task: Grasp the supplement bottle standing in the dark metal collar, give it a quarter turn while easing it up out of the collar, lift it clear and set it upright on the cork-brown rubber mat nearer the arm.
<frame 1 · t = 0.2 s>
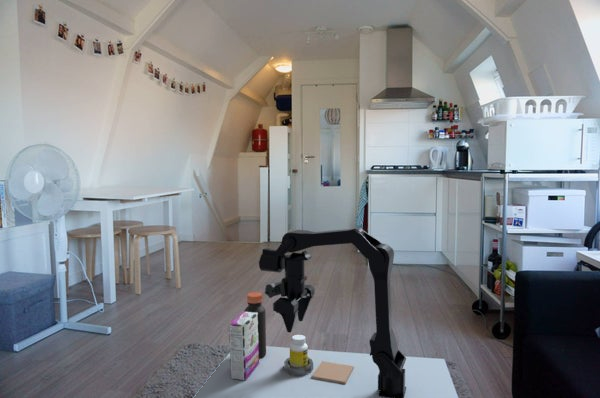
hand: (295, 326, 123), 14 cm above the table, fingers open, 9 cm apart
mat: (333, 372, 124), on the table
vinegar: (255, 355, 136), on the table
collar: (298, 368, 126), on the table
supplement bottle: (298, 369, 126), resting in collar
candy bar box: (245, 372, 125), on the table
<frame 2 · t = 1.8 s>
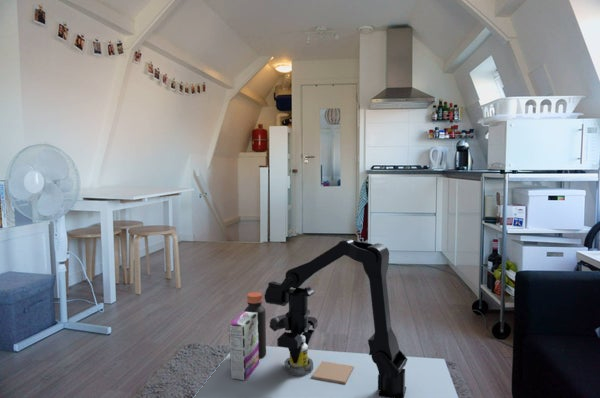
hand: (298, 358, 126), 3 cm above the table, fingers closed on supplement bottle, 5 cm apart
supplement bottle: (298, 369, 126), resting in collar, touching gripper
everything else where it was.
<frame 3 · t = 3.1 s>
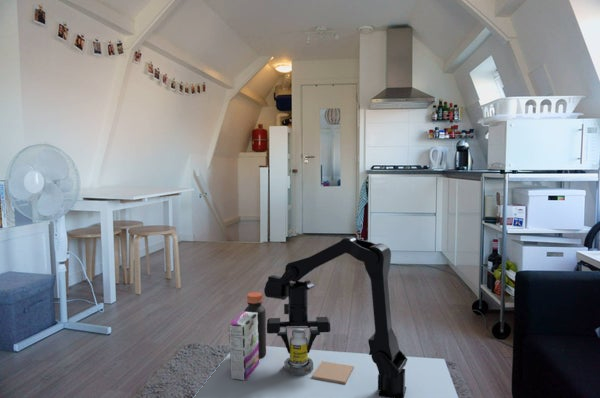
hand: (298, 352, 126), 5 cm above the table, fingers closed on supplement bottle, 5 cm apart
supplement bottle: (298, 363, 126), point 2 cm above the table, touching gripper
everything else where it was.
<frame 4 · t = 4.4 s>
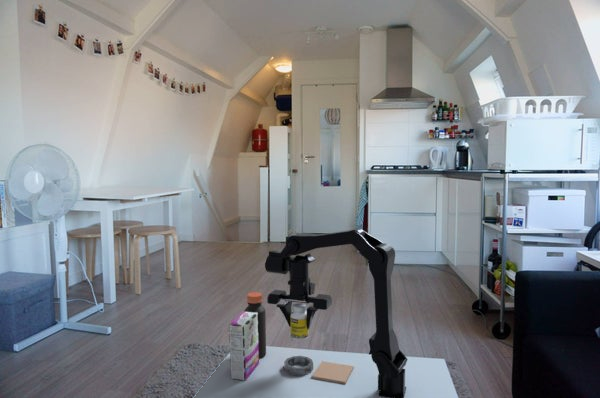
hand: (299, 327, 125), 13 cm above the table, fingers closed on supplement bottle, 5 cm apart
supplement bottle: (299, 337, 126), point 10 cm above the table, touching gripper
everything else where it was.
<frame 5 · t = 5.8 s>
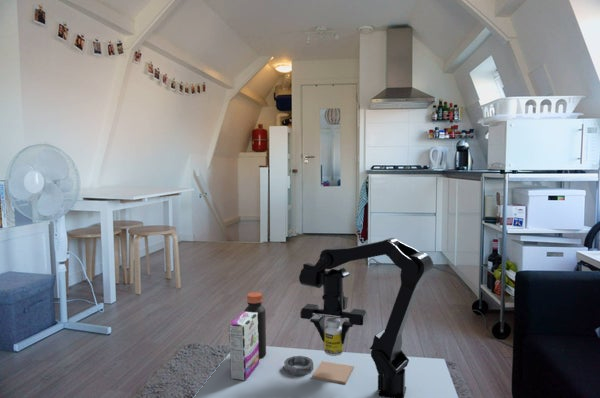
hand: (333, 342, 123), 9 cm above the table, fingers closed on supplement bottle, 5 cm apart
supplement bottle: (333, 353, 123), point 6 cm above the table, touching gripper
everything else where it was.
when the fingers open (5 cm above the table, at t = 6.9 s): supplement bottle drops 1 cm, resting on mat.
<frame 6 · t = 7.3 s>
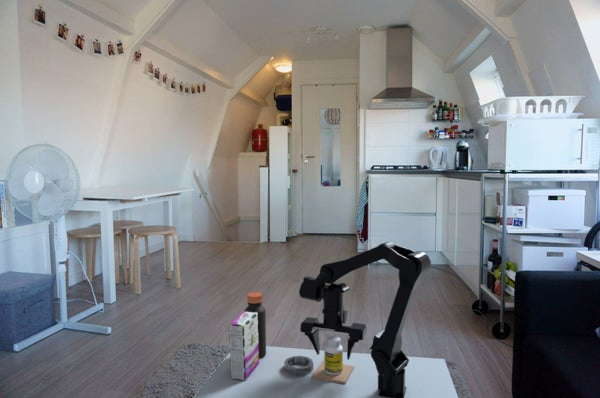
hand: (333, 356, 123), 5 cm above the table, fingers open, 9 cm apart
supplement bottle: (333, 371, 124), resting on mat
everything else where it was.
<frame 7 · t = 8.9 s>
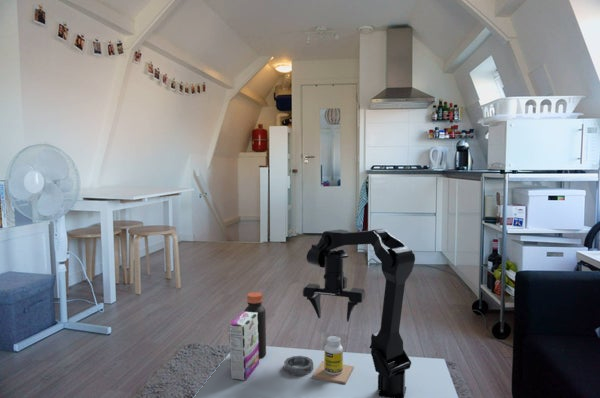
hand: (333, 319, 131), 13 cm above the table, fingers open, 9 cm apart
nothing on the table moved.
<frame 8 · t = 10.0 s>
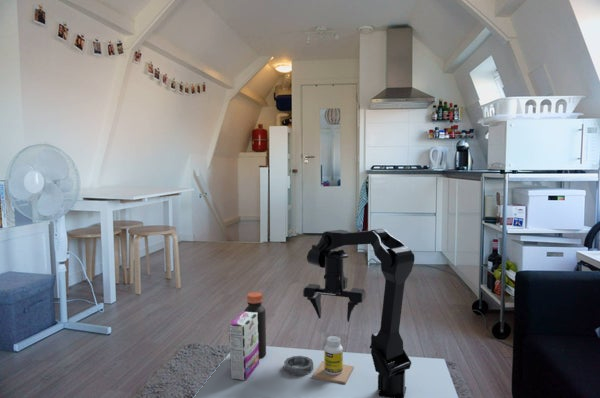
hand: (334, 319, 131), 13 cm above the table, fingers open, 9 cm apart
nothing on the table moved.
at the end: supplement bottle 0.1 cm off-centre on the mat, point 0.4 cm above the mat's base; supplement bottle tilted 0°; supplement bottle touching mat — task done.
